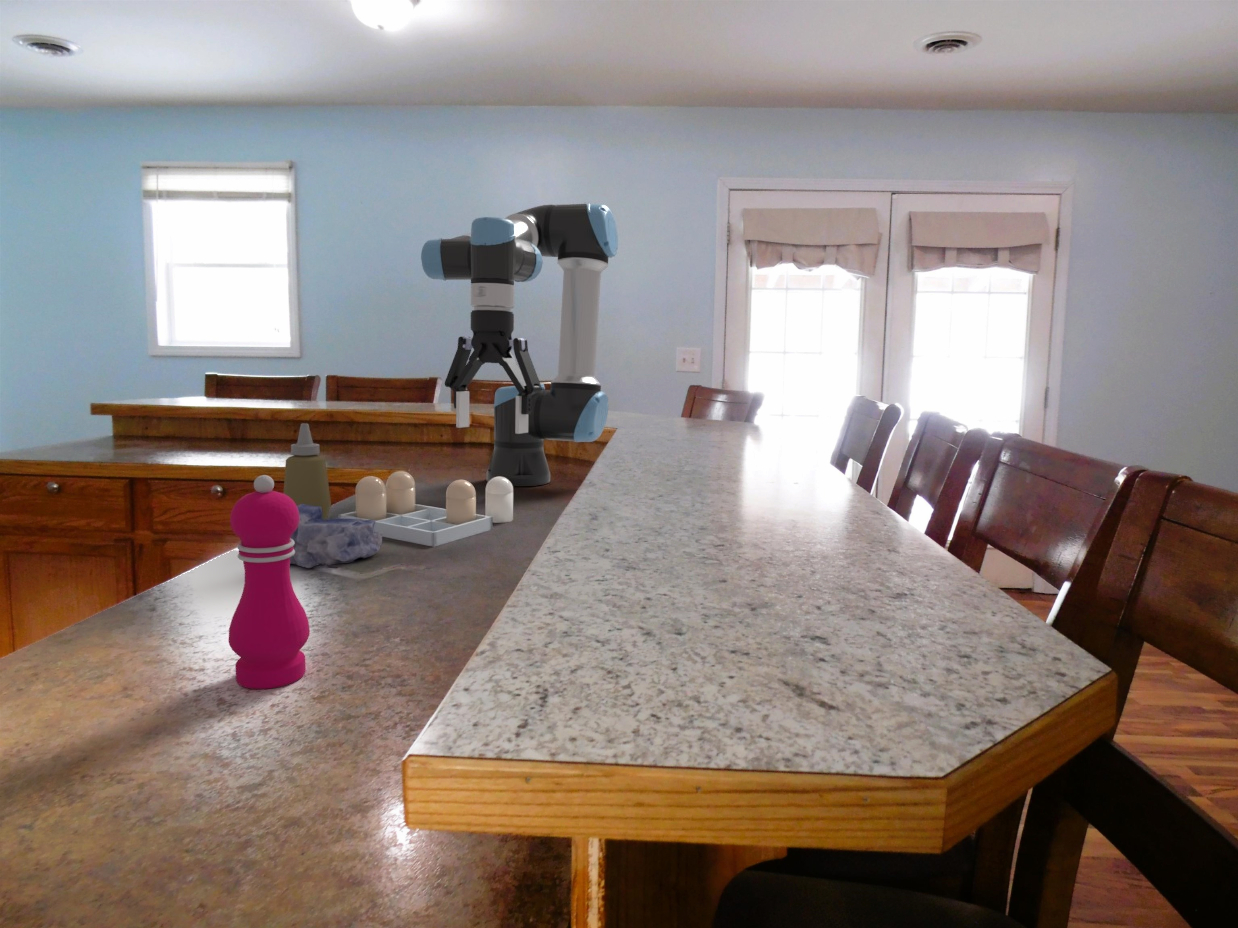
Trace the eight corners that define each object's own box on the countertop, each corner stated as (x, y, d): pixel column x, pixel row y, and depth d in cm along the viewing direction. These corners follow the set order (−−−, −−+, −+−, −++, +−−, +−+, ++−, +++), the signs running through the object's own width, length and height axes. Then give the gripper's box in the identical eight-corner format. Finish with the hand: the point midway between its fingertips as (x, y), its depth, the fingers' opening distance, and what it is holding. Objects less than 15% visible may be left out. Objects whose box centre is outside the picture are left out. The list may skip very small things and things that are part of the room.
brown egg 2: (401, 515, 146) (400, 468, 145) (421, 518, 144) (420, 470, 142) (380, 519, 142) (379, 471, 140) (401, 523, 139) (400, 474, 138)
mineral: (267, 509, 110) (294, 491, 120) (263, 573, 112) (290, 551, 122) (371, 523, 111) (390, 504, 121) (366, 586, 113) (384, 563, 123)
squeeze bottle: (315, 532, 135) (312, 427, 132) (272, 528, 136) (268, 424, 134) (340, 522, 143) (338, 422, 140) (300, 519, 144) (297, 420, 141)
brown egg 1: (372, 521, 140) (371, 473, 139) (392, 525, 137) (392, 476, 136) (349, 527, 136) (348, 476, 134) (370, 531, 133) (369, 479, 132)
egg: (496, 519, 148) (497, 473, 147) (518, 523, 146) (518, 476, 145) (479, 524, 144) (479, 476, 143) (501, 528, 142) (501, 479, 140)
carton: (401, 517, 148) (400, 501, 147) (492, 533, 137) (492, 516, 137) (338, 532, 135) (338, 514, 135) (434, 551, 125) (433, 532, 124)
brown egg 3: (459, 525, 139) (459, 476, 138) (481, 529, 137) (481, 479, 135) (439, 530, 135) (439, 480, 134) (462, 535, 132) (462, 483, 131)
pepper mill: (224, 671, 78) (214, 472, 75) (300, 656, 83) (294, 467, 80) (238, 698, 73) (228, 484, 70) (319, 681, 77) (313, 478, 74)
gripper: (424, 308, 142) (425, 426, 145) (536, 308, 129) (535, 437, 132) (453, 310, 148) (453, 423, 151) (563, 311, 136) (560, 433, 139)
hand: (491, 430), depth 142 cm, fingers open, 13 cm apart
